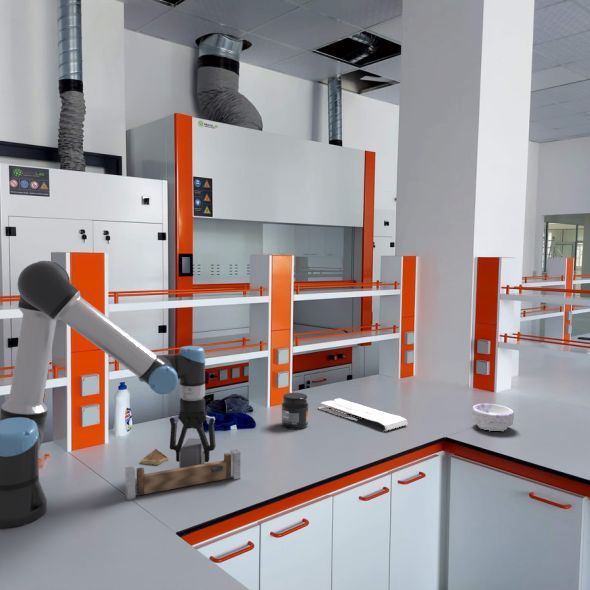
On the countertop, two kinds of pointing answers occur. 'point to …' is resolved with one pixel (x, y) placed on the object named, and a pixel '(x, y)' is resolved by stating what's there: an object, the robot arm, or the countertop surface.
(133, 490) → the grey blocks
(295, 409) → the supplement container
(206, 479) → the gate
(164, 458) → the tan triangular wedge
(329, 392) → the countertop surface
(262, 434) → the countertop surface
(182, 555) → the countertop surface
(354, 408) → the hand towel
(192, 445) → the rubber block
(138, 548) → the countertop surface
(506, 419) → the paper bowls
